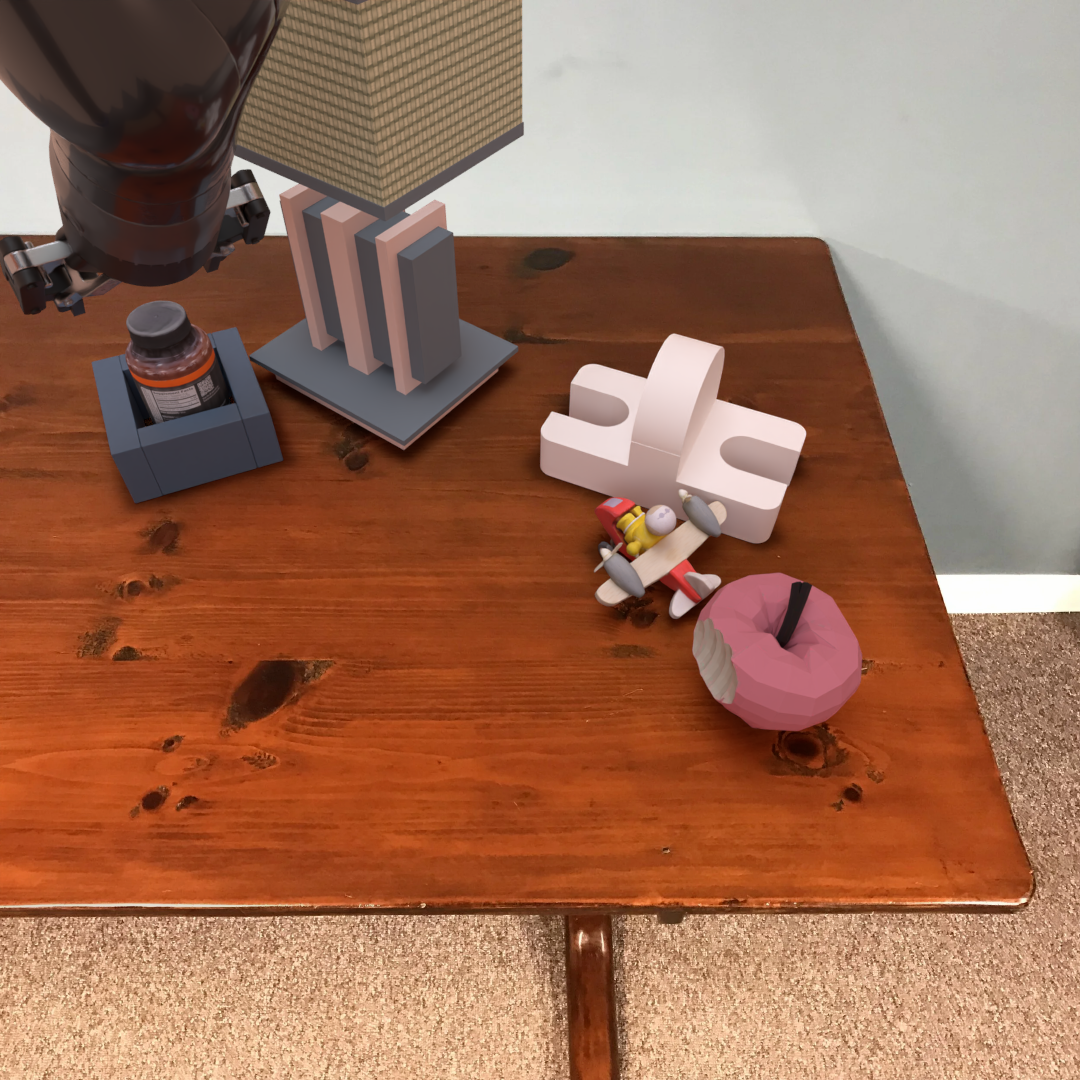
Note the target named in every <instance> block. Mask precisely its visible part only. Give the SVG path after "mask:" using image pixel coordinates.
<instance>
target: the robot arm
mask: <svg viewBox="0 0 1080 1080" xmlns="http://www.w3.org/2000/svg"><path fill="white" fill-rule="evenodd" d="M290 1H291V0H0V81H1V83H2V84H3V85H4V86H5V87H6V88H7V90H9V91H10V92H11V93H12V94H13V96H14V97H15V98H17V99H18V101H19V102H20V103H21V104H22V105H23V106H24V107H25V108H26V109H27V110H28V111H29V112H30V113H32V114H33V116H35V117H36V118H37V119H38V120H39V121H41V123H42V124H44V125H45V126H46V127H48V128H49V130H50V131H49V142H48V157H49V158H48V159H49V165H50V171H51V176H52V181H53V185H54V191H55V195H56V200H57V204H58V210H59V214H60V221H61V222H62V223H61V224H62V225H61V227H60V228H59V229H57V231H56V232H55V235H54V241H52V242H48V243H45V244H44V243H43V244H41V245H36V246H34V244H33V242H31V241H30V240H29V241H27V240H26V241H23V238H22V236H20V235H8V236H5V237H3V238H2V239H0V267H1V272H2V274H3V276H4V278H5V280H6V282H8V284H9V286H10V287H11V290H12V291H13V293H14V295H15V297H16V299H17V301H18V303H19V307H20V309H21V311H22V313H23V315H25V316H29V315H32V316H34V315H38V314H40V313H42V312H43V311H44V310H45V309H47V302H53V303H54V305H55V307H56V309H57V312H59V313H66V312H69V311H70V312H71V314H72V316H73V317H74V318H75V317H78V316H80V315H84V314H86V307H85V303H84V298H89V297H99V296H104V295H106V294H108V292H110V291H111V290H113V289H115V288H116V287H118V286H119V285H120V284H123V283H124V284H128V285H131V286H137V287H144V288H146V287H147V288H153V287H154V288H156V287H165V286H170V285H173V284H178V283H180V282H182V281H185V280H187V279H188V278H190V277H191V276H192V275H193V276H194V274H196V273H197V272H198V271H199V270H201V269H202V268H203V269H204V271H205V272H206V273H207V274H209V273H212V272H215V271H218V270H219V268H220V265H221V262H223V261H224V260H225V259H226V258H227V257H228V256H230V255H231V254H232V253H234V252H235V251H236V248H235V246H234V244H235V243H237V242H239V241H241V240H243V242H244V243H245V245H246V246H247V245H257V244H259V243H260V241H262V240H263V239H264V238H265V235H266V231H267V227H268V224H269V220H270V216H271V213H272V211H271V209H270V207H269V205H268V203H267V201H266V198H265V197H264V194H263V192H262V190H261V188H260V185H259V184H258V181H257V179H256V177H255V174H254V173H253V170H252V169H249V168H246V169H239V170H237V171H236V172H235V173H234V174H232V166H233V162H234V157H235V155H234V154H235V151H236V146H237V140H238V131H239V124H240V120H241V117H242V114H243V110H244V107H245V104H246V101H247V98H248V96H249V93H250V91H251V89H252V87H253V85H254V82H255V80H256V78H257V76H258V74H259V72H260V70H261V68H262V66H263V63H264V61H265V59H266V57H267V55H268V52H269V50H270V48H271V46H272V43H273V41H274V39H275V37H276V35H277V32H278V30H279V28H280V25H281V23H282V20H283V18H284V16H285V13H286V11H287V8H288V6H289V4H290Z"/></svg>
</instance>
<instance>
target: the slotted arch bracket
mask: <svg viewBox="0 0 1080 1080" xmlns="http://www.w3.org/2000/svg"><path fill="white" fill-rule="evenodd" d="M658 350H659V351H658V352H657V354H656V357H655V358H654V361H653V363H652V365H651V368H650V370H649V373H648V376H647V378H646V377H643V376H639V375H635V374H632V373H629V372H626V371H622V370H618V369H615V368H612V367H608V366H605V365H602V364H597V363H589V364H585V365H582V367H580V368H579V370H578V372H577V373H576V374H575V376H574V377H573V379H572V380H571V382H570V387H569V388H570V389H569V390H570V391H569V405H568V406H569V407H568V415H565V414H562V413H558V412H555V411H551V412H550V413H549V415H548V416H547V418H546V420H545V421H544V423H543V424H542V426H541V428H540V449H539V450H540V451H539V452H540V453H539V454H540V455H539V456H540V457H539V463H540V464H539V467H540V470H541V471H542V473H544V474H545V475H546V476H549V477H552V478H555V479H558V480H561V481H564V482H567V483H570V484H573V485H576V486H579V487H581V488H585V489H587V490H591V491H594V492H597V493H600V494H602V495H606V496H609V497H611V498H613V497H621V498H626V499H629V500H631V501H633V502H634V503H635V506H640V507H641V508H642V507H643V508H645V509H648V510H649V509H650V508H652V507H654V506H656V505H665V506H667V507H669V508H671V509H672V510H673V512H674V513H675V515H676V519H677V520H681V521H684V522H686V521H687V520H689V518H688V516H687V515H686V513H685V512H684V510H683V508H682V505H683V504H682V499H681V498H680V497H679V493H678V492H679V490H680V489H683V490H686V491H687V492H688V493H687V494H688V495H692V496H695V495H696V496H698V497H699V498H700V499H702V500H703V501H704V502H705V503H706V504H707V505H709V504H711V503H712V502H715V501H719V502H720V503H722V504H723V505H724V507H725V508H726V512H727V517H726V520H725V521H724V522H723V523H722V524H721V525H720V528H721V532H722V533H721V534H724V535H727V536H729V537H733V538H736V539H738V540H741V541H745V542H748V543H751V544H761V543H762V544H763V543H765V542H767V541H768V540H769V539H770V537H771V534H772V532H773V530H774V527H775V524H776V521H777V520H778V516H779V513H780V510H781V506H782V503H783V500H784V497H785V495H786V491H787V488H788V487H790V484H791V481H792V479H793V477H794V473H795V471H796V469H797V468H796V467H797V464H798V461H799V458H800V455H801V452H802V449H803V446H804V443H805V440H806V437H807V431H806V429H805V428H804V426H803V425H802V424H800V423H798V422H795V421H793V420H789V419H786V418H783V417H779V416H776V415H773V414H769V413H765V412H762V411H758V410H755V409H751V408H748V407H745V406H741V405H738V404H734V403H731V402H728V401H724V400H722V399H717V398H718V394H719V388H720V383H721V380H722V379H721V378H722V373H723V370H724V364H725V352H726V351H725V348H724V346H722V345H717V344H713V343H710V342H707V341H703V340H700V339H695V338H692V337H689V336H684V335H681V334H677V333H671V334H670V335H668V336H667V338H666V339H665V340H664V342H663V343H662V345H661V346H660V349H658Z"/></svg>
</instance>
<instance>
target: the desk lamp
mask: <svg viewBox="0 0 1080 1080" xmlns="http://www.w3.org/2000/svg"><path fill="white" fill-rule="evenodd" d="M523 136H525V122H524V121H523V0H291V1H290V4H289V6H288V8H287V11H286V13H285V16H284V18H283V20H282V23H281V25H280V28H279V30H278V32H277V35H276V37H275V39H274V41H273V43H272V46H271V48H270V50H269V52H268V55H267V57H266V59H265V61H264V63H263V66H262V68H261V70H260V72H259V74H258V76H257V78H256V80H255V82H254V85H253V87H252V89H251V91H250V93H249V96H248V98H247V101H246V104H245V107H244V110H243V114H242V117H241V120H240V124H239V131H238V140H237V146H236V151H235V154H234V157H237V158H239V159H241V160H244V161H246V162H248V163H251V164H253V165H255V166H257V167H260V168H262V169H265V170H267V171H269V172H272V173H273V174H276V175H278V176H281V177H283V178H284V179H287V180H290V181H292V182H294V183H297V184H295V185H294V186H291V187H290V188H288V189H286V190H285V191H282V192H281V193H279V195H278V197H279V205H280V209H281V214H282V219H283V223H284V227H285V232H286V236H287V241H288V245H289V249H290V254H291V258H292V263H293V267H294V271H295V277H296V281H297V286H298V290H299V294H300V299H301V304H302V308H303V313H304V317H305V318H303V319H302V320H300V321H298V322H297V323H296V324H294V325H293V326H291V327H289V328H288V329H287V330H285V331H284V332H282V333H281V334H279V335H278V336H276V337H275V338H273V339H272V340H270V341H269V342H267V343H266V344H264V345H262V346H261V347H260V348H258V349H256V350H255V351H254V352H252V353H251V354H249V355H248V358H249V360H250V362H252V363H254V364H256V365H258V366H260V367H261V368H263V369H264V370H266V371H268V372H270V373H271V374H273V375H275V378H276V380H278V381H279V382H281V383H283V384H285V385H287V386H288V387H290V388H292V389H294V390H296V391H297V392H299V393H301V394H303V395H304V396H306V397H308V398H310V399H311V400H314V401H316V402H317V403H318V404H320V405H322V406H324V407H326V408H327V409H330V410H331V411H333V412H335V413H337V414H339V415H340V416H341V417H344V418H346V419H347V420H349V421H351V422H353V423H355V424H356V425H358V426H360V427H362V428H363V429H365V430H367V431H369V432H371V433H372V434H374V435H376V436H378V437H380V438H382V439H383V440H385V441H387V442H389V443H391V444H392V445H393V446H396V447H398V448H400V449H401V450H403V451H405V450H406V449H407V448H409V446H411V445H412V444H413V443H415V442H416V441H417V440H418V439H419V438H421V436H423V435H424V434H425V433H427V432H428V430H430V429H431V428H432V427H433V426H435V425H436V424H437V423H438V422H439V421H441V420H442V419H443V418H445V416H446V415H448V414H449V413H451V411H453V410H454V409H455V408H456V407H457V406H459V405H460V404H461V403H462V402H463V401H465V400H466V399H467V398H468V397H469V396H471V394H473V393H474V392H476V390H477V389H479V388H480V387H481V386H482V385H483V384H485V383H486V382H487V381H488V380H489V379H491V378H492V377H493V376H494V375H495V374H497V373H498V372H499V368H500V367H501V366H503V365H504V364H505V363H506V362H507V361H508V360H509V359H511V358H512V357H513V356H514V355H516V354H518V352H519V346H518V345H517V344H514V343H512V342H510V341H508V340H506V339H504V338H501V337H500V336H497V335H495V334H493V333H491V332H489V331H487V330H484V329H482V328H481V327H478V326H476V325H474V324H472V323H470V322H468V321H465V320H463V319H461V318H460V313H459V299H458V298H459V297H458V284H457V283H458V282H457V270H456V269H457V268H456V267H457V266H456V253H455V237H454V232H453V231H450V230H448V223H447V212H446V211H447V210H446V209H447V208H446V203H444V202H441V201H439V200H437V199H434V200H432V201H430V202H429V203H427V204H425V205H424V206H422V207H420V208H419V209H418V210H416V211H415V212H413V213H411V214H410V213H409V212H406V210H407V209H408V208H410V207H411V206H413V205H414V204H416V203H418V202H420V201H421V200H423V199H424V198H426V197H427V196H429V195H431V194H432V193H434V192H435V191H437V190H438V189H440V188H442V187H443V186H446V184H449V182H452V181H453V180H454V179H456V178H458V177H459V176H460V175H462V174H464V173H466V172H467V171H468V170H469V171H470V169H473V168H474V167H475V166H477V165H478V164H480V163H482V162H483V161H485V160H486V159H488V158H490V157H492V155H494V154H496V153H498V152H499V151H501V150H502V149H504V148H505V147H507V146H509V145H511V144H512V143H514V142H515V141H516V140H519V139H520V138H521V137H523Z"/></svg>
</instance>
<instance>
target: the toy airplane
mask: <svg viewBox="0 0 1080 1080" xmlns="http://www.w3.org/2000/svg"><path fill="white" fill-rule="evenodd" d="M678 493H679V497H680V498H681V499H682V504H683V505H682V508H683V510H684V512H685V513H686V515H687V516H688V518H689V520H687V521H684V522H683V523H682V524H681V525H679V526H678V527H676V525H677V518H676V515H675V513H674V512H673V510H672V509H671V508H669V507H667V506H665V505H656V506H654V507H652V508H650V509H648V510H647V512H644V511H642V506H639V505H636V504H635V503H634V502H633V501H631V500H629V499H626V498H621V497H609V498H607V499H606V500H604V501H603V502H602V503H600V504H599V505H598V506H597V507H595V508H594V510H593V511H594V514H595V516H596V517H597V519H598V521H599V522H600V523H601V525H602V527H603V528H604V530H605V531H606V533H607V535H608V536H609V538H610V540H609V543H608V542H607V541H601V542H600V543H599V544H598V545H597V551H598V553H599V556H600V557H601V558H602V561H600V563H599V564H598V565H597V566H596V567H595V568H594V570H593V573H596V572H597V571H598V570H599V569H601V568H604V570H605V572H606V573H607V575H608V576H609V578H608V579H607V580H606V581H605V582H603V583H602V584H601V585H600V586H599V587H598V588H597V589H596V591H595V592H594V597H595V599H596V601H597V602H598V603H599V604H601V605H603V606H606V607H615V606H616V605H618V604H621V603H622V602H624V601H625V600H627V599H629V598H631V597H636V598H639V599H640V598H642V597H644V596H645V594H646V590H645V589H647V588H648V587H650V586H651V585H652V584H653V585H654V584H655V583H656V582H658V581H660V582H661V583H662V584H663V585H664V586H666V587H667V588H669V589H670V590H672V591H674V594H673V596H672V598H671V600H670V603H669V607H668V614H669V616H670V617H671V619H674V620H678V619H680V618H682V616H684V615H685V614H686V613H687V612H689V611H690V610H692V609H693V608H694V607H695V606H697V605H698V604H700V602H702V601H703V600H705V599H706V598H707V597H708V596H710V594H712V593H713V592H714V591H715V590H716V589H717V588H718V587H720V585H721V584H722V579H721V577H720V576H718V575H717V574H713V573H712V574H711V573H707V574H706V573H705V574H701V573H699V572H697V571H696V569H694V567H693V566H692V564H691V563H690V561H689V560H688V558H689V557H690V556H692V554H694V553H695V551H697V549H698V548H699V547H701V546H702V545H703V544H704V542H706V541H707V539H709V537H710V536H711V537H714V538H719V537H720V536H721V535H722V534H723V533H722V532H721V528H720V525H721V524H722V523H723V522H724V521H725V520H726V517H727V512H726V508H725V507H724V505H723V504H722V503H720V502H719V501H715V502H712V503H711V504H709V505H707V504H706V503H705V502H704V501H703V500H702V499H700V498H699V497H698V496H696V495H695V496H692V495H688V494H687V493H688V492H687V491H686V490H683V489H680V490H679V492H678ZM618 552H619V553H621V554H622V555H624V556H625V557H626V558H628V559H629V560H630V561H631V562H629V561H628V560H627V559H626V558H625V557H624V556H622V555H621V554H619V553H618Z"/></svg>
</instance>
